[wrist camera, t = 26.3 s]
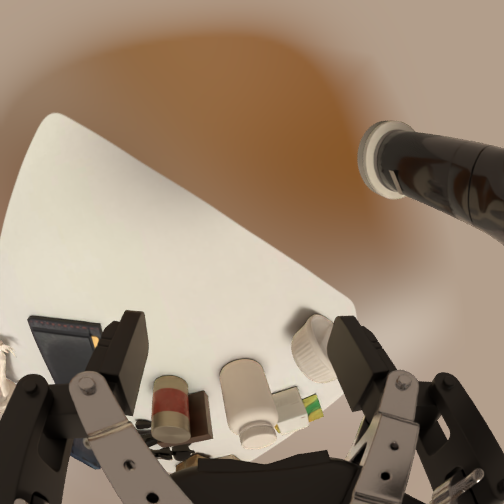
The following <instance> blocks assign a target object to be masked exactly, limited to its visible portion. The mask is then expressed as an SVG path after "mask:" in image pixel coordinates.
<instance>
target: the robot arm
mask: <svg viewBox="0 0 504 504" xmlns="http://www.w3.org/2000/svg"><path fill="white" fill-rule="evenodd" d="M374 170H375V173H376V176H377V178H378V180H379V181H380V183H381V184H382V185H383V186H384V187H385V188H387V189H389V190H391V191H394V192H398V193H399V194H401V195H405V196H407V197H410V198H412V199H415V200H417V201H419V202H422V203H424V204H426V205H428V206H431V207H433V208H435V209H437V210H440V211H442V212H444V213H446V214H448V215H451V216H453V217H455V218H457V219H459V220H461V221H463V222H465V223H467V224H469V225H471V226H473V227H475V228H477V229H479V230H481V231H483V232H485V233H486V234H488V235H490V236H491V237H493V238H494V239H496V240H497V241H498V242H500V243H501V244H503V245H504V148H501V147H497V146H492V145H487V144H483V143H479V142H474V141H468V140H463V139H458V138H452V137H446V136H440V135H433V134H425V133H418V132H410V131H404V130H391V131H388V132H387V133H385V134H384V135H383V136H382V137H381V138H380V140H379V141H378V143H377V145H376V148H375V152H374ZM148 350H149V342H148V335H147V328H146V321H145V314H144V312H141V311H130V310H126V311H125V312H124V314H123V316H122V318H121V320H120V322H118V321H113V322H112V323H110V324H109V325H108V326H107V327H106V328H105V329H104V331H103V333H102V335H101V339H99V341H98V343H97V346H96V347H95V350H94V352H93V354H92V356H91V358H90V360H89V362H88V365H87V367H86V369H85V371H84V372H81V373H79V374H77V375H75V376H74V377H73V378H72V379H71V381H70V383H67V384H52V385H48V383H47V381H46V379H45V378H44V377H42V376H41V375H38V374H29V375H26V376H24V377H23V378H21V379H20V380H19V382H18V383H17V385H16V387H15V389H14V391H13V393H12V395H11V397H10V400H9V402H8V404H7V406H6V408H5V411H4V413H3V415H2V418H1V420H0V504H61V503H62V496H63V489H64V484H65V477H66V472H67V467H68V462H69V457H70V453H71V448H72V444H73V440H74V438H87V440H88V442H89V444H90V446H91V449H92V451H93V453H94V454H95V456H96V458H97V460H98V462H99V464H100V466H101V468H102V469H103V471H104V473H105V475H106V476H107V478H108V480H109V482H110V483H111V485H112V487H113V488H114V490H115V491H116V493H117V495H118V496H119V498H120V499H121V501H122V502H123V504H425V503H423V502H421V501H419V500H417V499H415V498H413V497H411V496H410V495H408V494H406V493H405V489H406V486H407V482H408V479H409V475H410V471H411V467H412V463H413V459H414V454H415V449H416V450H417V453H418V455H419V457H420V460H421V462H422V464H423V467H424V469H425V472H426V474H427V476H428V479H429V481H430V484H431V487H432V489H433V491H434V492H433V495H432V500H431V501H430V502H429V504H503V503H504V453H503V451H502V449H501V448H500V446H499V444H498V442H497V441H496V439H495V437H494V435H493V434H492V432H491V430H490V429H489V427H488V425H487V424H486V422H485V420H484V419H483V417H482V416H481V414H480V412H479V411H478V409H477V408H476V406H475V405H474V403H473V401H472V400H471V398H470V397H469V395H468V394H467V393H466V391H465V389H464V388H463V387H462V385H461V384H460V382H459V381H458V380H457V378H456V377H454V376H453V375H451V374H449V373H444V372H442V373H438V374H437V375H436V376H435V378H434V379H433V381H432V382H420V381H418V380H417V379H416V378H415V376H414V375H412V374H411V373H409V372H406V371H404V370H397V369H396V367H395V366H394V364H393V363H392V361H391V360H390V358H389V357H388V355H387V354H386V352H385V351H384V349H382V346H381V345H380V343H379V342H378V340H377V339H376V337H375V336H374V335H373V333H372V332H371V331H369V330H368V329H367V328H365V327H364V326H361V325H360V324H359V322H358V321H357V319H356V318H355V317H354V316H337V317H336V318H335V321H334V324H333V327H332V330H331V334H330V337H329V340H328V343H327V355H328V358H329V360H330V363H331V365H332V367H333V369H334V372H335V374H336V376H337V378H338V381H339V383H340V385H341V387H342V390H343V392H344V394H345V397H346V399H347V401H348V403H349V406H350V408H351V410H352V412H354V411H359V410H362V411H363V413H364V417H363V419H362V421H361V424H360V427H359V429H358V432H357V434H356V437H355V440H354V442H353V444H352V447H351V449H350V451H349V453H348V455H347V456H346V458H345V460H343V459H338V458H332V457H329V454H328V451H327V450H324V451H318V452H311V453H304V454H297V455H294V456H291V457H289V458H286V459H283V460H280V461H276V462H273V463H270V464H258V463H251V462H246V461H240V460H235V459H212V458H198V465H197V466H191V467H188V468H184V469H181V470H179V471H176V472H174V473H172V474H170V475H169V474H168V473H167V472H166V470H165V469H164V468H163V467H162V465H161V464H160V463H159V461H158V460H157V459H156V457H155V456H154V455H153V453H152V452H151V450H150V449H149V448H148V446H147V445H146V443H145V442H144V440H143V439H142V437H141V436H140V434H139V433H138V431H137V430H136V428H135V427H134V425H133V424H132V423H131V421H129V420H128V419H127V417H126V416H125V415H129V416H133V413H134V409H135V404H136V400H137V396H138V392H139V387H140V383H141V379H142V375H143V371H144V368H145V364H146V360H147V356H148ZM441 415H442V417H443V418H444V420H445V422H446V424H447V426H448V428H449V430H450V438H449V440H447V438H446V437H445V434H444V432H443V431H442V429H441V427H440V425H439V423H438V421H437V420H438V419H439V417H440V416H441Z"/></svg>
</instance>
